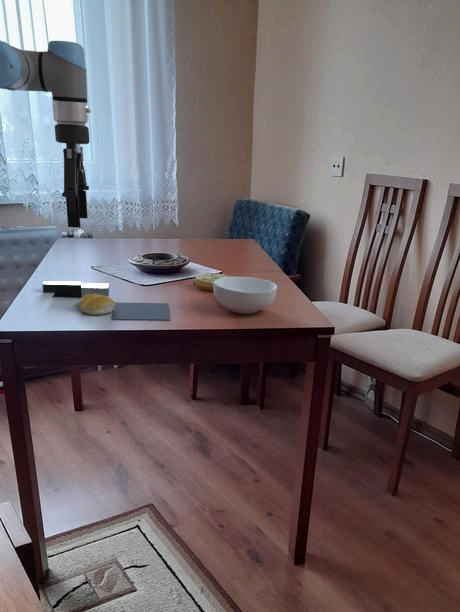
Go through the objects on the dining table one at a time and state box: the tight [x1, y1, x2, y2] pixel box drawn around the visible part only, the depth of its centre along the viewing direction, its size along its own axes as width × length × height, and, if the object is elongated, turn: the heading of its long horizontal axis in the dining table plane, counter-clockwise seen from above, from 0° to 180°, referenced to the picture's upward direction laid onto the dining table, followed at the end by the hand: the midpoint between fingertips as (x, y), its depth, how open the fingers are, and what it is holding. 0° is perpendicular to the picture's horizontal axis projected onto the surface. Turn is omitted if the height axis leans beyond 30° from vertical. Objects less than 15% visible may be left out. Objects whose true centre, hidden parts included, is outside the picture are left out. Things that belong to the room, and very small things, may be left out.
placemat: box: [111, 301, 171, 321], centre depth 141 cm, size 14×14×1 cm
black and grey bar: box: [41, 280, 110, 299], centre depth 150 cm, size 17×4×4 cm, turn 98°
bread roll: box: [78, 294, 115, 316], centre depth 139 cm, size 8×9×4 cm
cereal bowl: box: [213, 276, 278, 315], centre depth 146 cm, size 17×17×7 cm
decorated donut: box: [194, 272, 229, 292], centre depth 165 cm, size 10×11×4 cm
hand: (78, 222), depth 134 cm, fingers open, 13 cm apart
